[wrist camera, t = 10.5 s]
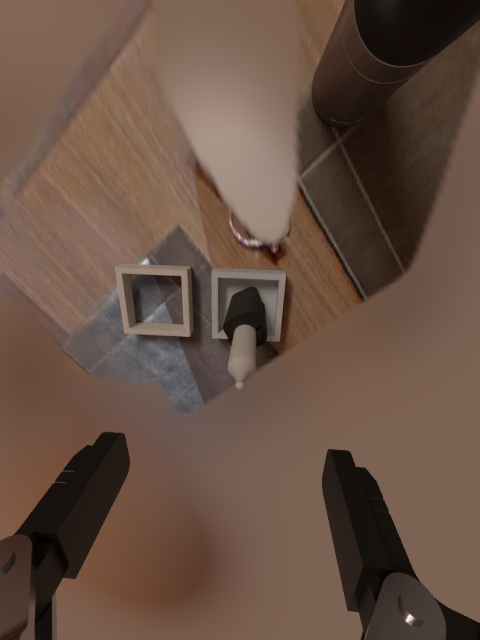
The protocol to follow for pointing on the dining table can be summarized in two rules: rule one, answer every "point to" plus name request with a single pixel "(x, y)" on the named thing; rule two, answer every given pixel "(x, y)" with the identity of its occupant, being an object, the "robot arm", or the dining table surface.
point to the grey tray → (240, 279)
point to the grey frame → (128, 303)
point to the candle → (245, 333)
